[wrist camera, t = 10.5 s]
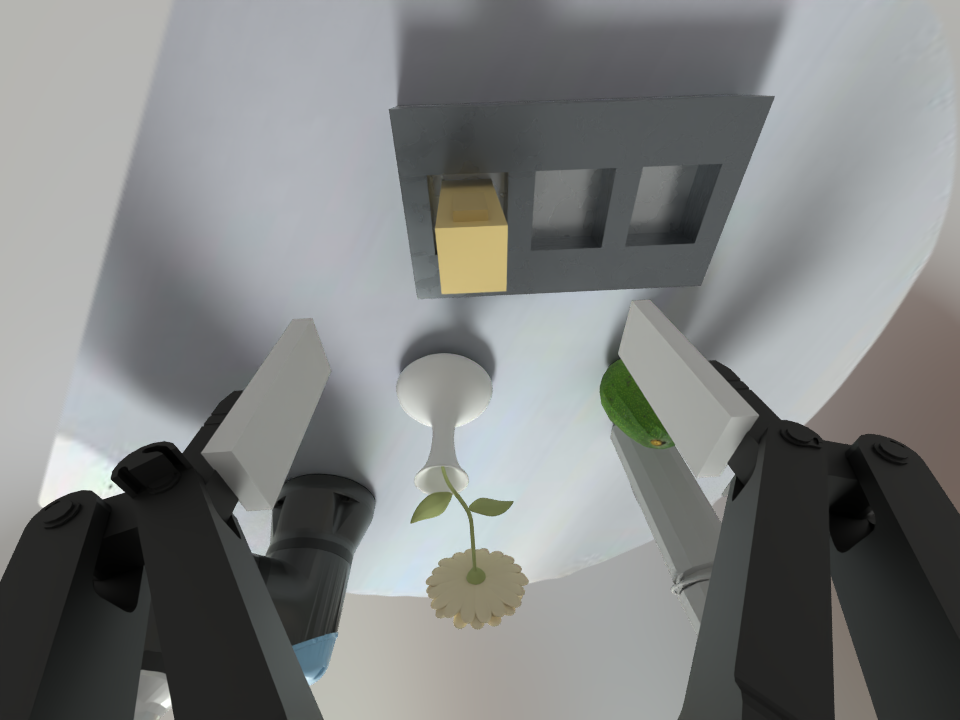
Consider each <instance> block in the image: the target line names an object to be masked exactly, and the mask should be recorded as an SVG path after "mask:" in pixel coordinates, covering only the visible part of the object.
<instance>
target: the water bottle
mask: <svg viewBox="0 0 960 720" xmlns="http://www.w3.org/2000/svg"><path fill="white" fill-rule="evenodd" d="M610 438H611V440H612V442H613V445H614V447H615V449H616V452H617V454H618V456H619V458H620V461H621V463H622V465H623V468H624V470H625V472H626V475H627V477H628V479H629V481H630V485H631V488H632V490H633V493H634V496H635V498H636V500H637V502H638V504H639V505H640V507H641V509H642V511H643V514H644V516H645V518H646V521H647V523H648V525H649V527H650V530H651V532H652V534H653V537H654V539H655V541H656V543H657V546H658V548H659V550H660V553H661V555H662V557H663V560H664V562H665V564H666V567H667V569H668V571H669V573H670V576H671V578H672V580H673V582H674V583H675V584H674V585H673V586H672V587H671V591H672V593H673V594H675V595H677V596H679V597H678V599H679V601H680V603H681V605H682V607H683V609H684V611H685V613H686V615H687V617H688V619H689V621H690V622H691V624H692V626H693V628H694V630H695V632H696V633H697V636H698V634H699V629H700V624H701V620H702V615H703V610H704V606H705V601H706V596H707V591H708V587H709V582H710V577H711V573H712V568H713V563H714V558H715V554H716V549H717V544H718V540H719V535H720V530H721V525H722V523H721V521H720V520H719V518H718V516H717V515H716V513H715V511H714V510H713V508H712V506H711V505H710V503H709V501H708V500H707V498H706V496H705V495H704V493H703V491H702V490H701V488H700V486H699V485H698V483H697V481H696V480H695V478H694V476H693V475H692V473H691V471H690V470H689V468H688V466H687V465H686V463H685V461H684V460H683V458H682V457H681V455H680V453H679V452H678V450H677V448H676V447H675V446H673V447H670V448H666V449H653V448H648V447H644V446H642V445H641V444H639V443H637V442H636V441H634V440H633V439H631V438H630V437H628V436H627V435H626V434H625V433H624V432H623V431H621V430H620V429H619V428H618V427H617V426H616V425H614V426H613V429H612V433H611V437H610ZM677 587H678V589H677V591H675V589H676V588H677Z"/></svg>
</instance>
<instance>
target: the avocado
mask: <svg viewBox="0 0 960 720" xmlns="http://www.w3.org/2000/svg"><path fill="white" fill-rule="evenodd" d="M600 397H601V404H602V406H603V408H604V410H605V412H606V413H607V415H608V417H609V419H610V420H611V421H612V422H613V423H614V424H615V425H616V426H617V427H618V428H619V429H620V430H621V431H623V432H624V433H625V434H626V435H627V436H628V437H630V438H631V439H633V440H634V441H636V442H637V443H639V444H641V445H642V446H644V447H648V448H653V449H666V448H670V447H673V446H675V444H674V442H673V440H672V439H671V437H670V436H669V434H668V432H667V431H666V429H665V428H664V426H663V424H662V423H661V421H660V420H659V418H658V417H657V415H656V413H655V412H654V410H653V409H652V407H651V405H650V404H649V402H648V401H647V399H646V398H645V396H644V394H643V393H642V391H641V390H640V388H639V386H638V385H637V383H636V382H635V380H634V379H633V377H632V375H631V374H630V372H629V371H628V369H627V367H626V366H625V364H624V363H623V361H622V360H621V359H619V360H617V361H616V362H615V363H613V364H612V365H610V366H609V368H608V369H607V371H606V372H605V374H604V375H603V378H602V381H601V384H600Z"/></svg>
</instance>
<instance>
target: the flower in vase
mask: <svg viewBox="0 0 960 720" xmlns="http://www.w3.org/2000/svg"><path fill="white" fill-rule="evenodd" d="M492 389H493V387H492V382H491V379H490V377H489V375H488V374H487V372H486V371H485V370H484V369H483V368H482V367H481V366H480V365H479V364H477V363H476V362H474V361H472V360H470V359H469V358H466V357H464V356H461V355H457V354H451V353H437V354H431V355H427V356H425V357H422V358H420V359H418V360H416V361H414V362H412V363H411V364H409V365H408V366H407V367H406V368H405V369H404V370H403V371H402V373H401V374H400V376H399V378H398V381H397V385H396V392H397V397H398V399H399V402H400V405H401V406H402V408H403V409H404V411H405V412H406V413H407V414H408V415H409V416H411V417H412V418H413V419H415V420H416V421H418V422H420V423H422V424H424V425H427V426H430V427H432V429H433V438H432V446H431V451H430V455H429V458H428V461H427V462H426V464H425V466H424V467H423V468H422V469H421V470H420V471H419V472H418V473H417V474H416V476H415V479H414V483H415V486H416V487H417V488H418V489H419V490H420V491H422V492H423V493H425V494H428V496H427V497H426V498H425V499H424V500H423V501H422V502H421V503H420V504H419V506H418V507H417V508H416V510H415V512H414V514H413V517H412V519H411V523H414V522H417V521H420V520H424V519H429V518H433V517H436V516H439V515H440V514H442V513H443V512H444V511H445V509H446V508H447V506H448V504H449V502H450V500H451V497H452V495H455V497H456V498H457V499H458V500H459V502H460V503H461V504H462V506H463V507H464V509H465V511H466V512H467V515H468V518H469V523H470V535H471V549H467V550H466V551H465V552H464V553H462V552H458V553H455V554H454V555H453V557H452V558H444V559H442V560H440V561H439V563H438V565H439V566H440V567H437V568H435V569H434V570H433V571H432V574H433V575H432V576H430V577H429V578H428V579H427V580H426V584H427V585H430V586H429V587H428V588H427V590H426V592H427V593H428V597H429V598H431V599H434V600H433V601H432V602H431V608H432V609H435V610H436V617H437V618H444V617H446V618H452V617H453V616H454V626H455V627H456V628H458V629H462V628H464V627H465V626H466V625H467V624H469V623H470V624H471V626H472V627H473V628H474V629H481V628H482V627H483V626H484V623H488V624H489V625H491V626H498V625H499V624H500V623H501V617H503V616H504V615H508V616H511V615H513V614H514V613H515V608H517V607H519V606H520V605H521V599H522V596H523V595H524V594H525V590H524V588H523V587H522V586H525V585H527V584H528V582H529V581H528V579H527V577H526V576H525V575H524V574H523V573H521V570H522V568H521V567H520V566H519V565H518V564H513V563H514V559H513V558H512V557H510V556H508V555H503V553H502V552H500V551H494V552H492V553H490V554H489V551H488V549H485V548H482V549H476V550H475V539H474V526H473V519H472V515H471V512H470V511H472V512H475V513H479V514H482V515H486V516H497V515H500V514H502V513H504V512H506V511H507V510H508V509H509V508H510V506H511V505H512V504H513V502H514V501H498V500H493V499H488V498H479V499H477V500H476V501H474V502H473V503H472V504H471V505H470V506H469V508H468V506H467V505H466V503H465V502H464V501H463V499H462V498H461V497H460V495H459V494H458V493H459V492H461V491H463V490H464V489H465V488H466V487H467V485H468V483H469V478H468V475H467V474H466V472H465V471H464V470H463V469H462V468H461V467H460V466H459V463H458V461H457V458H456V454H455V447H454V430H455V427H459V426H462V425H465V424H467V423H469V422H471V421H473V420H474V419H476V418H477V417H479V416H480V415H481V414H482V413H483V412H484V411H485V409H486V408H487V406H488V404H489V402H490V399H491V397H492Z"/></svg>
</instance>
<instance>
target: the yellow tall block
mask: <svg viewBox="0 0 960 720" xmlns="http://www.w3.org/2000/svg"><path fill="white" fill-rule="evenodd" d="M435 233H436V243H437V253H438V263H439V272H440V282H441V292H442V294H458V293H479V292H500V291H506V286H507V241H508V224H507V222H506V219H505V216H504V213H503V211H502V208H501V205H500V202H499V199H498V197H497V194H496V191H495V188H494V186H493V183H492V180H491V179H470V180H445V181H442V183H441V190H440V197H439V204H438V211H437V218H436V225H435Z"/></svg>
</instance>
